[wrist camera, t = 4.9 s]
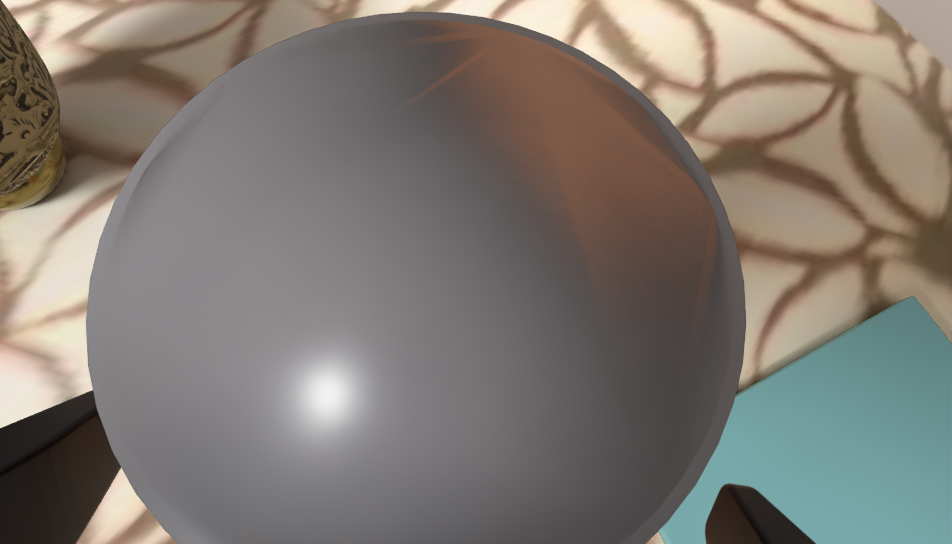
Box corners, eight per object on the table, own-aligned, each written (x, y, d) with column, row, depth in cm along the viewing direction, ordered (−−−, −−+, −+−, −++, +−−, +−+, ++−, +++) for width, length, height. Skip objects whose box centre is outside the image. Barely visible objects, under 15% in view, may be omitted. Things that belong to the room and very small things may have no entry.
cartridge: (552, 462, 17) (880, 406, 4) (399, 548, 16) (213, 820, 3) (476, 318, 19) (547, -50, 6) (331, 387, 18) (18, 129, 5)
